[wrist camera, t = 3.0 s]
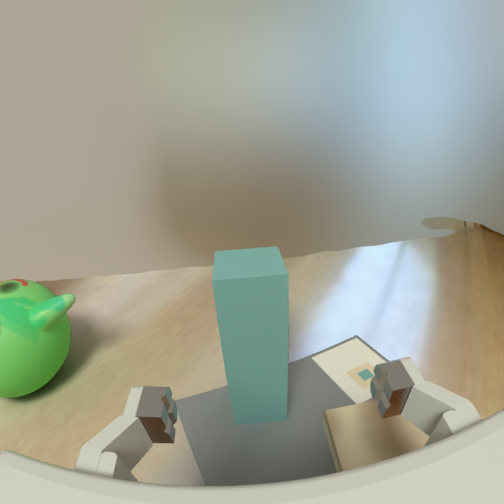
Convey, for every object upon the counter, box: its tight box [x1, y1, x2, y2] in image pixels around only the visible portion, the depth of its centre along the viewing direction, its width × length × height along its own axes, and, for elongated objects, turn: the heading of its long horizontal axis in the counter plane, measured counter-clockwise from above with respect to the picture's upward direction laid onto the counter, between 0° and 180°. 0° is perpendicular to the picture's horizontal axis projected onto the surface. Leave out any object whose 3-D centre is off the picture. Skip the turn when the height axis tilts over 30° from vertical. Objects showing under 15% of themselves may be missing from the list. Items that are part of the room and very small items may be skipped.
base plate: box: [175, 335, 429, 486], centre depth 24 cm, size 24×22×3 cm
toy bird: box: [0, 279, 76, 398], centre depth 28 cm, size 18×17×15 cm
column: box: [212, 246, 288, 425], centre depth 25 cm, size 5×5×16 cm
